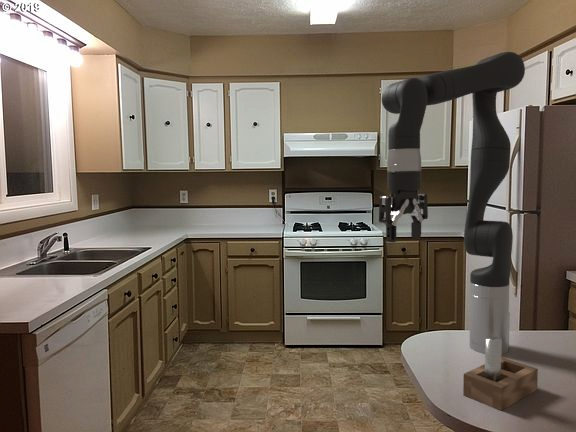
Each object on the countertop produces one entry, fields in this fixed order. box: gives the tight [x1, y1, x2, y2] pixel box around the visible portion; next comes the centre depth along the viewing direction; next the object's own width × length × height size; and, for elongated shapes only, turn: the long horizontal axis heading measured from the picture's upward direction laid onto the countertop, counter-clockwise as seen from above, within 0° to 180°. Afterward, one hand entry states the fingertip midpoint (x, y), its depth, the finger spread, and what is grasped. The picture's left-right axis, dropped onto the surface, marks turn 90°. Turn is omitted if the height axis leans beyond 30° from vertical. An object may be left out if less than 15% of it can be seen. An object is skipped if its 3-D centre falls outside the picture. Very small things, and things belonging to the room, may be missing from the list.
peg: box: [484, 336, 502, 382], centre depth 92 cm, size 3×3×12 cm
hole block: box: [462, 356, 539, 411], centre depth 94 cm, size 14×8×4 cm, turn 126°
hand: (404, 239), depth 106 cm, fingers open, 8 cm apart
